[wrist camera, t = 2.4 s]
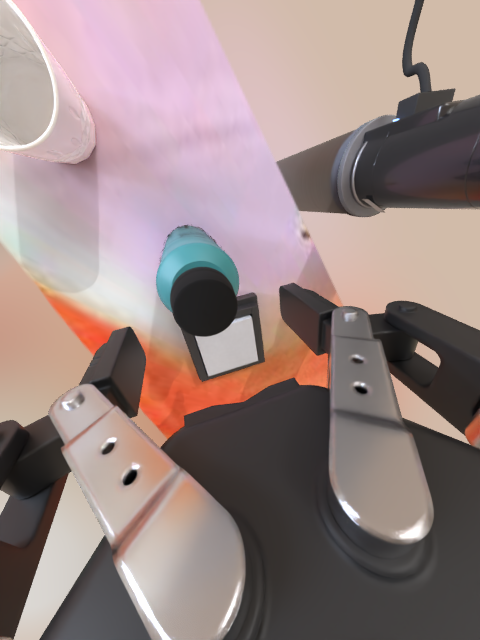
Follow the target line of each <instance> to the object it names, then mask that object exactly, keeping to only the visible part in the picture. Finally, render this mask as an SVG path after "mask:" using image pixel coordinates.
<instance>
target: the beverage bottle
mask: <svg viewBox="0 0 480 640" xmlns="http://www.w3.org/2000/svg"><path fill="white" fill-rule="evenodd" d="M201 229H202V228H200V229H199V227H198V228H197V227H193V226H187V225H185V226H182V227H178V228H177V229H175V230H173V231H172V233H171V234H169V235H168V236H167V237H168V238H167V237H166V238H167V241H166V244H165V248H164V251H163V250H162V251H163V255H162V258H161V257H160V258H161V261H160V262H161V264H160V266H159V268H158V271H157V276H156V286H157V291H158V295H159V297H160V299H161V301H162V302H163V304H164V305H165V306H166V307H167V308H168V309H169V310H170V311H171V312H172V313H173V316H174V318H175V321H176V322H177V324H178V325H179V326H180V327H181V328H182V329H183V330H184V331H185V332H187V333H189V334H191V335H194V336H200V337H208V336H213V335H216V334H219V333H221V332H222V331H224V330H225V329H227V328H228V327H229V326H230V325H231V323H232V322H233V321H234V319H235V317H236V314H237V309H238V303H237V297H236V296H237V293H238V289H239V276H238V272H237V268H236V266H235V264H234V262H233V261H232V259H231V258H230V257H229V256H228V255H227V254H226V253H225V252H224V251H225V250H224V251H223V250H222V249H221V248H220V247H219V246H218V245H217V244H216V242H215V240H212V238H210V237H209V234H208V233H207V234H208V235H207V234H206V233H205V232H204V230H201ZM164 243H165V242H164ZM221 247H222V246H221Z"/></svg>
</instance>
